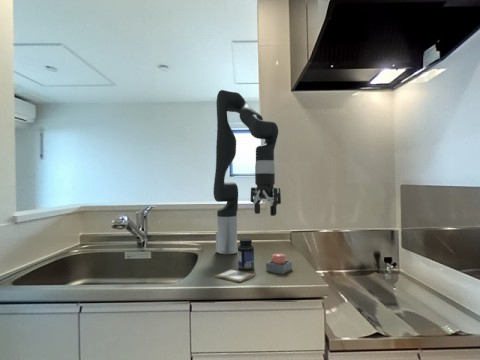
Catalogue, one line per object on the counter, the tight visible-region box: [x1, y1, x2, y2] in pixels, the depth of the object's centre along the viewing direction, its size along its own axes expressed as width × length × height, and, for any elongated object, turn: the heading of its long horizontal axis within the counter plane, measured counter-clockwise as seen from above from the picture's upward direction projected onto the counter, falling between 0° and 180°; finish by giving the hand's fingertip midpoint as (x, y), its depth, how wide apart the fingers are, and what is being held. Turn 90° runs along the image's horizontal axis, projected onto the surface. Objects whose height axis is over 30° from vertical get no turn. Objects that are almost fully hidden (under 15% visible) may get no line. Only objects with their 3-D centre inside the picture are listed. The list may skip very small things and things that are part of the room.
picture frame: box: [214, 268, 256, 284], centre depth 103 cm, size 11×9×1 cm
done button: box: [271, 253, 287, 265], centre depth 110 cm, size 5×5×4 cm
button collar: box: [265, 259, 293, 275], centre depth 110 cm, size 7×7×3 cm
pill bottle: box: [237, 238, 255, 271], centre depth 112 cm, size 6×6×11 cm
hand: (265, 214), depth 113 cm, fingers open, 8 cm apart
